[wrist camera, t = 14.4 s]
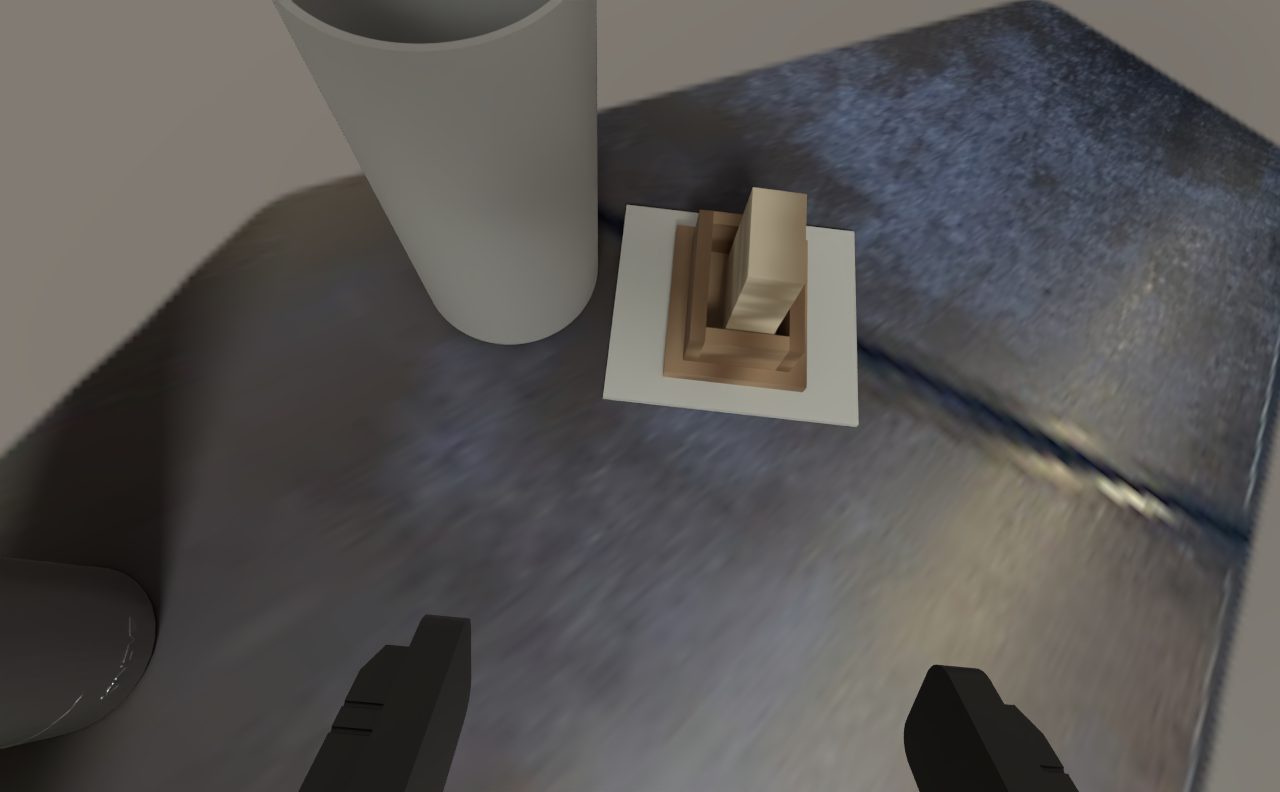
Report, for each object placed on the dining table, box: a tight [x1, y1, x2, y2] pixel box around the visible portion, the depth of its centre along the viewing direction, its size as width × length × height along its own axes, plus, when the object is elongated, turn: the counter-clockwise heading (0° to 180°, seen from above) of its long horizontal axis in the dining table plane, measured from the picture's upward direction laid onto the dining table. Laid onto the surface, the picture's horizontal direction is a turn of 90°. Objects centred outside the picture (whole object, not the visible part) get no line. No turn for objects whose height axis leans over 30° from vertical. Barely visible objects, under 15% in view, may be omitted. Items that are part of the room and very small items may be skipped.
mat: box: [603, 205, 858, 427], centre depth 46 cm, size 18×16×1 cm
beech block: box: [718, 187, 807, 335], centre depth 40 cm, size 3×6×10 cm, turn 174°
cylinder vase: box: [272, 0, 598, 345], centre depth 35 cm, size 12×12×25 cm
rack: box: [663, 210, 808, 392], centre depth 44 cm, size 10×12×4 cm
